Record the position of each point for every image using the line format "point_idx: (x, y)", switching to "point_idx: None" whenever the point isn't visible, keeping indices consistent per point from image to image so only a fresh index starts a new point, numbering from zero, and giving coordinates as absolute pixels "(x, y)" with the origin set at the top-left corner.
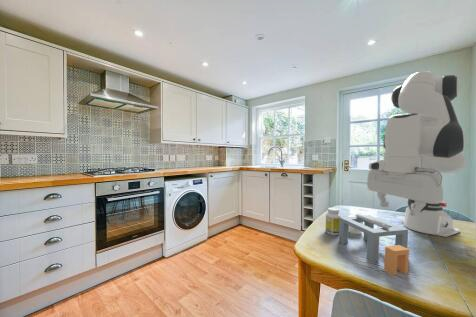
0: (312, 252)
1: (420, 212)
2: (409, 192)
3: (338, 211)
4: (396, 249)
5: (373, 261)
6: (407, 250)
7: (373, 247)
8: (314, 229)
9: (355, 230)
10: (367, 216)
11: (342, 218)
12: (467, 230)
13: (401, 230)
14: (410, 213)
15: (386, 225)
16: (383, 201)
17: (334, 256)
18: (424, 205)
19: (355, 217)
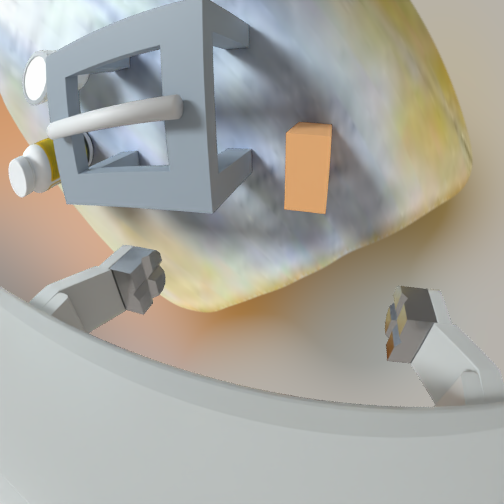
0: (185, 286)
1: (446, 308)
2: None
3: (26, 168)
4: (316, 191)
5: (251, 168)
6: (330, 143)
7: (235, 187)
8: None
9: (79, 80)
10: (54, 75)
11: (75, 202)
12: None
13: (203, 37)
14: (386, 328)
15: (171, 114)
16: (128, 304)
17: (208, 252)
18: (489, 375)
19: (61, 138)
